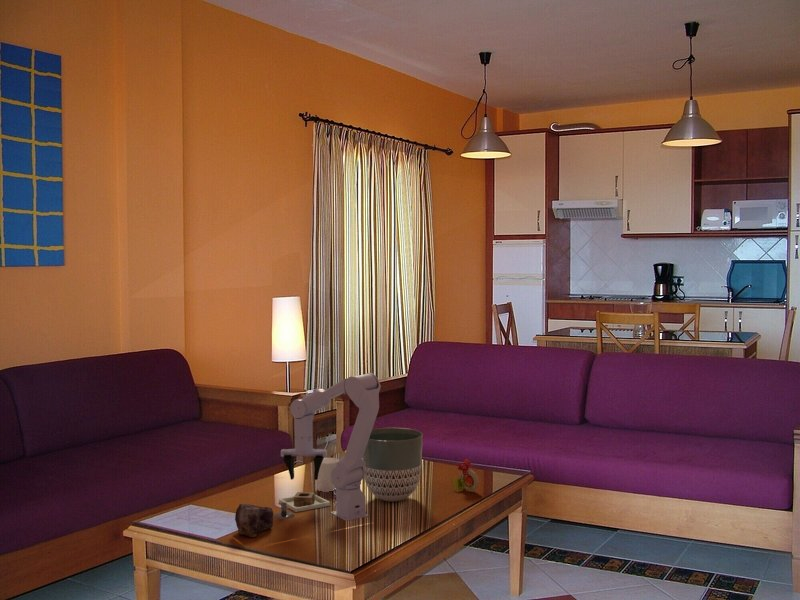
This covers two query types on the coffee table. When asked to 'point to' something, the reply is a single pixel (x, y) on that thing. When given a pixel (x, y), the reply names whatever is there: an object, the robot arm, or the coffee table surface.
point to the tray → (317, 504)
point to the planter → (393, 462)
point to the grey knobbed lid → (283, 513)
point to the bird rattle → (467, 482)
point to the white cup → (326, 475)
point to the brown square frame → (304, 499)
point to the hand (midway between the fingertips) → (304, 478)
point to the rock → (253, 519)
